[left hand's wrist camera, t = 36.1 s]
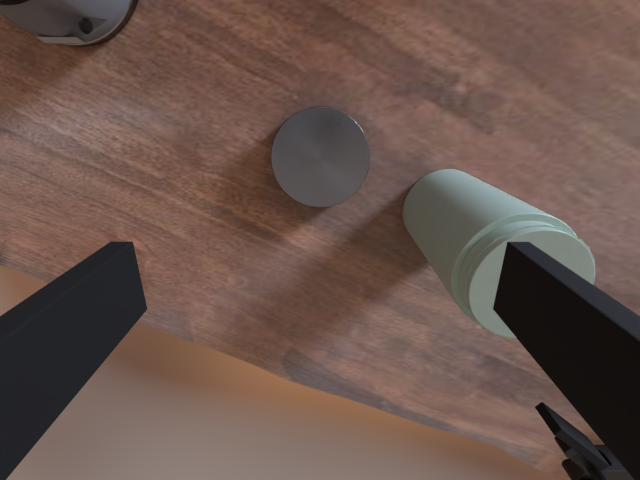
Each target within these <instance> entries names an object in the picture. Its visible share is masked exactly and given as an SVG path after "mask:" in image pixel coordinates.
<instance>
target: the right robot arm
mask: <svg viewBox="0 0 640 480" xmlns="http://www.w3.org/2000/svg"><path fill="white" fill-rule="evenodd" d="M535 408H536V409H537V411H538V412H539V414H540V415H541V417H542V418H543V419H544V421H545V422H546V424H547V425H548V427H549V428H550V430H551V431H552V432H553V434H554V435H555V436H556V437H555V440H556V442H557V444H558V445H559V447H560V448H561V449H562V451H563V452H564V454H565V455H566V457H568V458H569V459H566V460H564V461H563V462H562V466H563V468H564V469H565V471H566V472H567V474H568V475H569V477H570V478H571V480H634V479H633V478H632V476H631V475H630V474H629V473H628V472H627V470H626V469H625V468H624V467H623V465H622V464H621V463H620V462H619V461H618V459H617V458H616V457H615V456H614V455H613V453H612V452H611V451H610V450H609V449H608V447H607V446H606V445H593V444H592V442H591V441H590V440H589V438H588V437H587V436H585V435H584V434H583V433H582V432H580V431H579V430H578V429H576V428H575V427H574V426H572V425H571V424H570V423H569V422H567V421H566V420H565V419H563V418H562V417H561V416H559V415H558V414H557V413H556V412H554V411H553V410H552V409H550V408H549V407H548V406H546V405H545V404H544V403H543V402H541V403H540V404H539V405H537V406H536V407H535Z"/></svg>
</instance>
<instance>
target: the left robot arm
mask: <svg viewBox="0 0 640 480" xmlns="http://www.w3.org/2000/svg"><path fill="white" fill-rule="evenodd" d="M137 2H138V0H0V14H1V15H3V16H4V17H6V18H7V19H8V20H10V21H11V22H13V23H14V24H16V25H17V26H19V27H20V28H22V29H23V30H25V31H27V32H29V33H31V34H33V35H35V36H38V37H36V38H38V39H39V40H41V41H43V42H44V43H58V44H63V45H68V46H75V47H87V46H93V45H97V44H100V43H103V42H105V41H107V40H109V39H111V38H112V37H114V36H115V35H116V34H118V33H119V32H120V31H121V30H122V29H123V28H124V27H125V25H126V24H127V23H128V21H129V20H130V18H131V16H132V14H133V12H134V10H135V8H136V5H137ZM146 310H147V306H146V301H145V297H144V292H143V287H142V283H141V278H140V273H139V269H138V264H137V259H136V255H135V250H134V245H133V242H110V243H108V244H107V245H105V246H104V247H102V248H101V249H99V250H98V251H96V252H95V253H93V254H92V255H91V256H89V257H88V258H86V259H85V260H83V261H82V262H80V263H79V264H77V265H76V266H74V267H73V268H71V269H70V270H68V271H67V272H65V273H64V274H62V275H61V276H59V277H58V278H56V279H55V280H53V281H52V282H51V283H49V284H48V285H46V286H45V287H43V288H42V289H40V290H39V291H37V292H36V293H34V294H33V295H31V296H30V297H28V298H27V299H25V300H24V301H22V302H21V303H19V304H18V305H16V306H15V307H13V308H12V309H11V310H9V311H8V312H6V313H5V314H3V315H2V316H0V480H6V479H7V477H8V476H9V475H10V474H11V473H12V471H13V470H14V469H15V468H16V467H17V465H18V464H19V463H20V462H21V461H22V459H23V458H24V457H25V456H26V455H27V453H28V452H29V451H30V450H31V449H32V447H33V446H34V445H35V444H36V443H37V441H38V440H39V439H40V438H41V437H42V435H43V434H44V433H45V432H46V430H47V429H48V428H49V427H50V426H51V424H52V423H53V422H54V421H55V420H56V418H57V417H58V416H59V415H60V413H61V412H62V411H63V410H64V409H65V408H66V406H67V405H68V404H69V403H70V402H71V400H72V399H73V398H74V397H75V395H76V394H77V393H78V392H79V391H80V389H81V388H82V387H83V386H84V385H85V383H86V382H87V381H88V380H89V379H90V377H91V376H92V375H93V374H94V373H95V371H96V370H97V369H98V368H99V367H100V365H101V364H102V363H103V362H104V361H105V359H106V358H107V357H108V356H109V354H110V353H111V352H112V351H113V350H114V348H115V347H116V346H117V345H118V344H119V342H120V341H121V340H122V339H123V338H124V336H125V335H126V334H127V333H128V332H129V330H130V329H131V328H132V327H133V325H134V324H135V323H136V322H137V321H138V320H139V318H140V317H141V316H142V315H143V313H144V312H145V311H146ZM493 310H494V311H495V312H496V313H497V315H498V316H499V317H500V318H501V320H502V321H503V322H504V323H505V324H506V326H507V327H508V328H509V329H510V330H511V332H512V333H513V334H514V335H515V336H516V338H517V339H518V340H519V341H520V342H521V344H522V345H523V346H524V347H525V348H526V350H527V351H528V352H529V353H530V354H531V356H532V357H533V358H534V359H535V361H536V362H537V363H538V364H539V365H540V367H541V368H542V369H543V370H544V371H545V373H546V374H547V375H548V376H549V377H550V379H551V380H552V381H553V382H554V383H555V385H556V386H557V387H558V388H559V389H560V391H561V392H562V393H563V394H564V396H565V397H566V398H567V399H568V400H569V402H570V403H571V404H572V405H573V406H574V408H575V409H576V410H577V411H578V412H579V414H580V415H581V416H582V417H583V418H584V420H585V421H586V422H587V423H588V424H589V426H590V427H591V428H592V429H593V430H594V432H595V433H596V434H597V435H598V437H599V438H600V439H601V440H602V441H603V443H604V444H605V445H606V446H607V447H608V449H609V450H610V451H611V452H612V453H613V455H614V456H615V457H616V458H617V459H618V461H619V462H620V463H621V464H622V465H623V467H624V468H625V469H626V470H627V472H628V473H629V474H630V475H631V476H632V478H633V479H634V480H640V316H638V315H637V314H635V313H634V312H632V311H631V310H629V309H628V308H627V307H625V306H624V305H622V304H621V303H619V302H618V301H616V300H615V299H613V298H612V297H610V296H609V295H607V294H606V293H604V292H603V291H601V290H600V289H598V288H597V287H595V286H594V285H592V284H591V283H589V282H588V281H587V280H585V279H584V278H582V277H581V276H579V275H578V274H576V273H575V272H573V271H572V270H570V269H569V268H567V267H566V266H564V265H563V264H561V263H560V262H558V261H557V260H555V259H554V258H552V257H551V256H549V255H548V254H547V253H545V252H544V251H542V250H541V249H539V248H538V247H536V246H535V245H533V244H532V243H530V242H507V245H506V250H505V255H504V259H503V264H502V269H501V273H500V278H499V283H498V287H497V292H496V297H495V301H494V306H493Z"/></svg>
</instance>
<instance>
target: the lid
mask: <svg viewBox="0 0 640 480" xmlns="http://www.w3.org/2000/svg"><path fill="white" fill-rule="evenodd" d="M271 163H272V169H273V172H274V175H275V177H276V180H277V182H278V183H279V185H280V186H281V188H282V189H283V190H284V191H285V192H286V193H287V194H288V195H289V196H290V197H291V198H293V199H294V200H296V201H298V202H300V203H302V204H305V205H308V206H313V207H329V206H333V205H336V204H339V203H341V202H343V201H345V200H347V199H348V198H350V197H351V196H352V195H353V194H354V193H355V192H356V191H357V190H358V189H359V188H360V187H361V185H362V183H363V182H364V180H365V178H366V175H367V173H368V169H369V164H370V150H369V145H368V141H367V139H366V136H365V134H364V132H363V131H362V129H361V128H360V126H359V125H358V124H357V123H356V122H355V121H354V120H353V119H352V118H351V117H350V116H348V115H347V114H345V113H343V112H341V111H339V110H337V109H334V108H330V107H311V108H307V109H304V110H302V111H300V112H298V113H296V114H295V115H293V116H292V117H290V118H289V119H288V120H287V121H286V122H285V123H284V124H283V125H282V126H281V128H280V129H279V131H278V133H277V135H276V136H275V139H274V142H273V146H272V152H271Z"/></svg>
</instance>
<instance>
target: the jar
mask: <svg viewBox="0 0 640 480" xmlns="http://www.w3.org/2000/svg"><path fill="white" fill-rule="evenodd" d="M403 221H404V224H405V227H406V229H407V231H408V232H409V234H410V235H411V237H412V238H413V240H414V241H415V243H416V244H417V246H418V247H419V249H420V250H421V252H422V253H423V255H424V256H425V258H426V259H427V261H428V262H429V264H430V265H431V267H432V268H433V270H434V271H435V273H436V274H437V276H438V277H439V279H440V280H441V282H442V283H443V285H444V286H445V287H446V289H447V290H448V292H449V293H450V295H451V296H452V298H453V299H454V301H455V302H456V304H457V305H458V307H459V308H460V310H461V311H462V312H463V313H464V314H465V315H466V316H468V317H469V318H470V319H472V320H474V321H475V322H477V323H478V324H479V325H481V326H482V327H483V328H484V329H486V330H488V331H490V332H492V333H494V334H497V335H499V336H503V337H508V338H516V336H515V335H514V334H513V333H512V332H511V330H510V329H509V328H508V327H507V326H506V324H505V323H504V322H503V321H502V320H501V318H500V317H499V316H498V315H497V313H496V312H495V311H494V310H493V306H494V301H495V297H496V292H497V287H498V283H499V278H500V273H501V269H502V264H503V259H504V255H505V250H506V245H507V242H530V243H532V244H533V245H535V246H536V247H538V248H539V249H541V250H542V251H544V252H545V253H547V254H548V255H549V256H551V257H552V258H554V259H555V260H557V261H558V262H560V263H561V264H563V265H564V266H566V267H567V268H569V269H570V270H572V271H573V272H575V273H576V274H578V275H579V276H581V277H582V278H584V279H585V280H587V281H588V282H589V283H591V284H592V285H593V284H594V278H595V260H594V258H593V256H592V253H591V251H590V248H589V247H588V246H587V245H586V244H585V243H584V242H583V241H582V240H581V239H580V238H579V237H578V238H577V236H576V234H575V233H574V232H573V231H572V229H571V228H570V227H569V226H568V225H566V224H565V223H564V222H562V221H561V220H559V219H557V218H555V217H553V216H551V215H549V214H547V213H545V212H543V211H541V210H539V209H537V208H535V207H533V206H531V205H529V204H527V203H525V202H523V201H521V200H519V199H517V198H515V197H513V196H511V195H509V194H507V193H505V192H503V191H501V190H499V189H497V188H495V187H493V186H491V185H489V184H487V183H485V182H483V181H481V180H479V179H477V178H475V177H473V176H471V175H469V174H466V173H464V172H462V171H458V170H453V169H445V170H439V171H435V172H432V173H430V174H428V175H426V176H424V177H423V178H421V179H420V180H419V181H418V182H417V183H415V185H414V186H413V187H412V188H411V190H410V191H409V192H408V194H407V196H406V199H405V201H404V205H403Z"/></svg>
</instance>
